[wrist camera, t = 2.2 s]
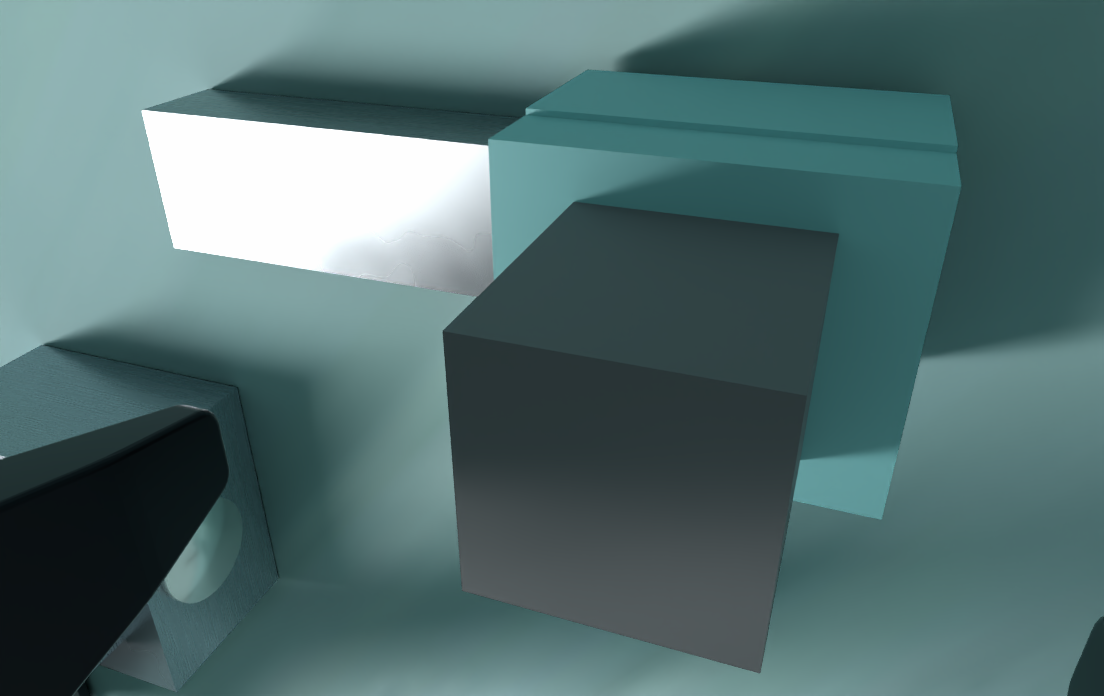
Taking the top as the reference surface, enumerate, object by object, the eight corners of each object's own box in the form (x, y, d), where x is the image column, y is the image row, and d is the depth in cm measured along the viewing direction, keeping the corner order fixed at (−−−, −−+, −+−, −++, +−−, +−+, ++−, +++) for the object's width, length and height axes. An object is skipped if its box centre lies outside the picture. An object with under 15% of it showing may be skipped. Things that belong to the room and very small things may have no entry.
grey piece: (286, 580, 26) (104, 787, 21) (103, 526, 29) (-110, 699, 23) (246, 389, 23) (13, 571, 17) (41, 344, 25) (-228, 492, 19)
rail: (933, 154, 14) (936, 191, 13) (899, 313, 16) (897, 364, 14) (207, 88, 19) (141, 109, 17) (232, 217, 20) (174, 247, 19)
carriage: (950, 94, 13) (988, 332, 7) (887, 376, 16) (869, 760, 9) (588, 69, 15) (322, 235, 8) (583, 326, 18) (377, 614, 11)
